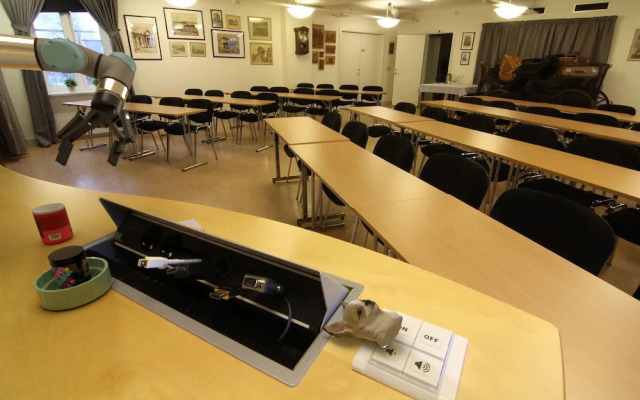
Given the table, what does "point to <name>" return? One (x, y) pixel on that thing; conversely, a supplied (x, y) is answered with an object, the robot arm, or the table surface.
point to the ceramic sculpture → (366, 322)
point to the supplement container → (69, 266)
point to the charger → (192, 224)
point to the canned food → (53, 223)
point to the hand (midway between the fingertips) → (85, 163)
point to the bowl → (74, 295)
